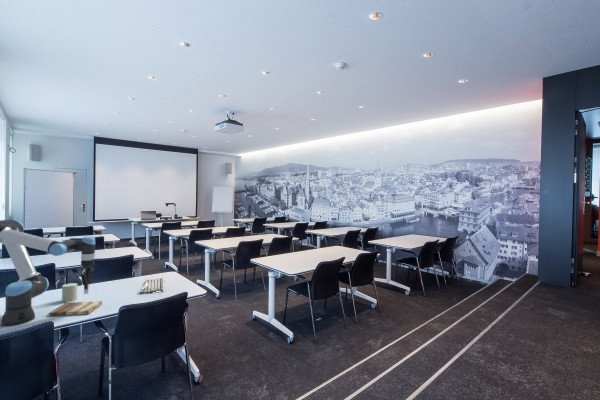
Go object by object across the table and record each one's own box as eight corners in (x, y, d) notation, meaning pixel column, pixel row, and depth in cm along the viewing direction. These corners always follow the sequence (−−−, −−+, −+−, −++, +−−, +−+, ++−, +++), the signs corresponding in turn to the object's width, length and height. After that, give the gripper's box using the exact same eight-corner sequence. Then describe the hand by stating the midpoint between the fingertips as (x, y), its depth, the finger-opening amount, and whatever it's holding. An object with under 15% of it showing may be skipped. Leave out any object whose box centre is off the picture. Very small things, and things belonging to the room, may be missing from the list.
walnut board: (48, 316, 188) (49, 312, 188) (65, 305, 206) (65, 302, 206) (64, 315, 190) (64, 311, 190) (79, 305, 208) (79, 301, 208)
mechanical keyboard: (141, 282, 266) (141, 279, 266) (164, 280, 274) (164, 277, 274) (139, 295, 232) (139, 291, 232) (165, 292, 241) (166, 288, 241)
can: (59, 302, 211) (59, 286, 211) (65, 298, 220) (65, 282, 220) (73, 301, 214) (74, 285, 214) (79, 297, 223) (79, 282, 223)
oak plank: (65, 315, 190) (65, 312, 190) (80, 304, 208) (80, 302, 208) (89, 313, 193) (89, 310, 193) (102, 303, 210) (102, 301, 210)
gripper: (89, 261, 195) (87, 296, 195) (98, 257, 207) (97, 290, 208) (76, 261, 193) (75, 296, 193) (86, 257, 206) (85, 290, 206)
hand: (86, 293), depth 200 cm, fingers closed
